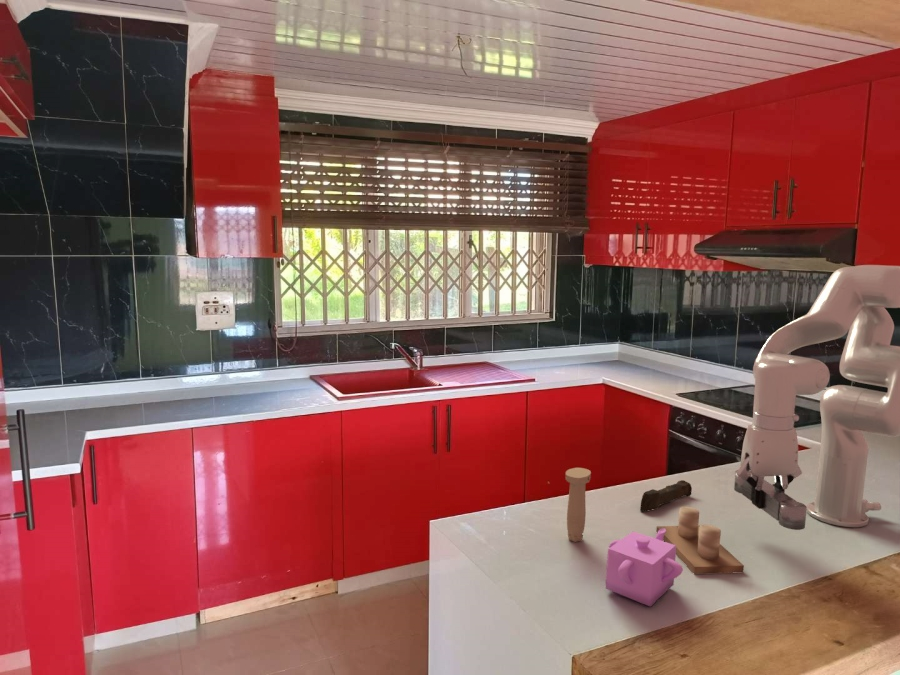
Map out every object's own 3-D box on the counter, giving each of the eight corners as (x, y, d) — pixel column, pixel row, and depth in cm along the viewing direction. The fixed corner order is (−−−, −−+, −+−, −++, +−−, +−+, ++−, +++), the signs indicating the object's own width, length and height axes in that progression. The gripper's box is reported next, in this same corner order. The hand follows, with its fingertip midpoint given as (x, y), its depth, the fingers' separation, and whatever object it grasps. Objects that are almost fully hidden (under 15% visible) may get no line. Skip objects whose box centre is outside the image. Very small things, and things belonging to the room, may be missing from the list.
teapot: (631, 560, 128) (634, 512, 127) (700, 585, 119) (704, 534, 118) (586, 595, 115) (588, 543, 114) (660, 626, 106) (663, 570, 105)
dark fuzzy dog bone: (678, 492, 165) (679, 475, 165) (691, 497, 162) (693, 480, 161) (631, 509, 154) (632, 491, 154) (644, 515, 151) (645, 496, 150)
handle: (558, 541, 136) (561, 474, 134) (571, 530, 141) (574, 466, 139) (579, 547, 133) (582, 479, 131) (591, 536, 138) (594, 470, 136)
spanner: (749, 485, 143) (750, 469, 143) (810, 529, 123) (812, 509, 122) (730, 486, 143) (731, 470, 142) (787, 530, 122) (789, 510, 121)
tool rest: (699, 531, 142) (701, 501, 141) (743, 572, 124) (746, 538, 123) (656, 532, 141) (658, 502, 140) (694, 574, 123) (696, 540, 122)
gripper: (799, 414, 134) (793, 496, 137) (724, 417, 133) (719, 500, 136) (823, 424, 127) (816, 511, 130) (744, 428, 125) (738, 515, 128)
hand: (766, 504), depth 133 cm, fingers closed on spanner, 3 cm apart
